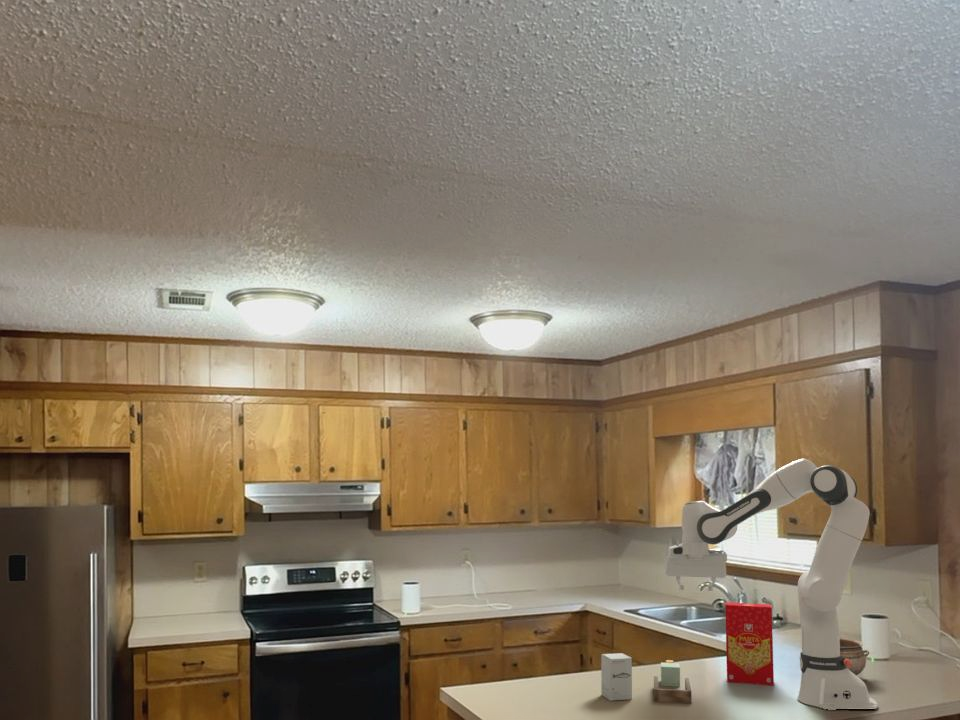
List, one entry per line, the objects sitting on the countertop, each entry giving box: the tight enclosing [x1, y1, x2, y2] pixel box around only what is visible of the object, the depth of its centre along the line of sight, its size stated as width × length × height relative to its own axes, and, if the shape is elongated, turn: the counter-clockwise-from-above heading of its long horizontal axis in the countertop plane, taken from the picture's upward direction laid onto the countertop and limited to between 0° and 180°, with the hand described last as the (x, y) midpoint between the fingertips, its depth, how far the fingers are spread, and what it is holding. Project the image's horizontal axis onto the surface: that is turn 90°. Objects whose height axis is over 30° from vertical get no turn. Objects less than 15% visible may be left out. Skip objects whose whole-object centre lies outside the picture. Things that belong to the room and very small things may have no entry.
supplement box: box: [600, 652, 633, 702], centre depth 275 cm, size 7×7×13 cm
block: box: [660, 659, 681, 687], centre depth 297 cm, size 6×17×6 cm, turn 169°
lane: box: [653, 676, 692, 704], centre depth 278 cm, size 11×16×4 cm
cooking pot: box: [839, 636, 870, 676], centre depth 299 cm, size 25×19×12 cm
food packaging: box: [725, 601, 775, 687], centre depth 295 cm, size 15×5×25 cm, turn 73°
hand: (695, 590), depth 300 cm, fingers open, 8 cm apart
